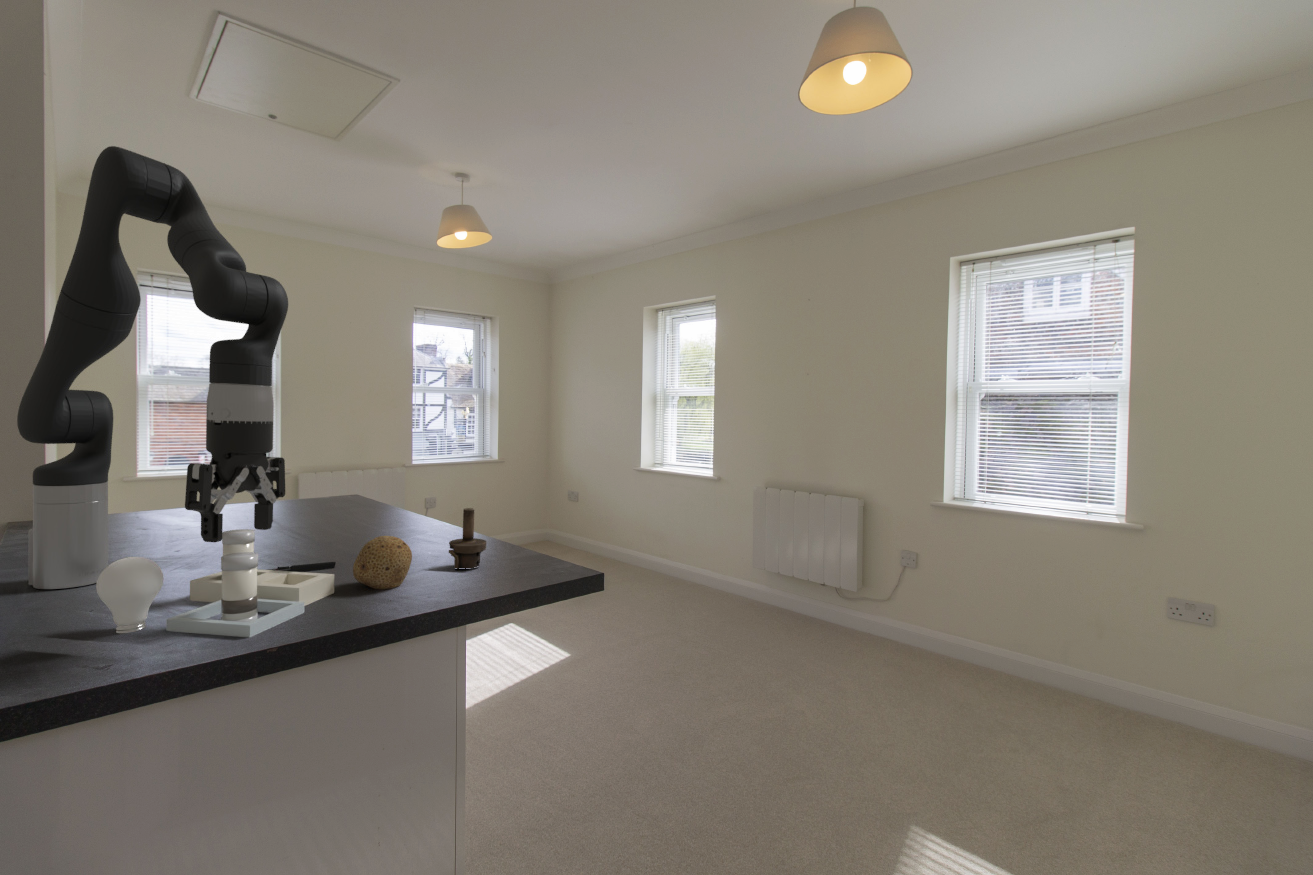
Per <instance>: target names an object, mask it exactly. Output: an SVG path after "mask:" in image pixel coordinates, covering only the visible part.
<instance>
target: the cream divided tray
mask: <svg viewBox="0 0 1313 875" xmlns="http://www.w3.org/2000/svg"><path fill="white" fill-rule="evenodd" d="M334 593H335V573H322V572H321V573H319V572H291V571H275V570H268V569H258V568H257V599H268V600H283V601H297V602H304V607H305V606H308V605H310V604H312V603H315V602H317V601H319V600H321V599H323V598H326V597H328V596H331V595H332V594H334ZM221 598H222V570H221V571H218V572H215V573H211V574H209V575H204V576H201V577H198V578H194V579H191V580H189V601H190V602H203V603H214V602H216V601H219V600H221Z"/></svg>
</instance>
